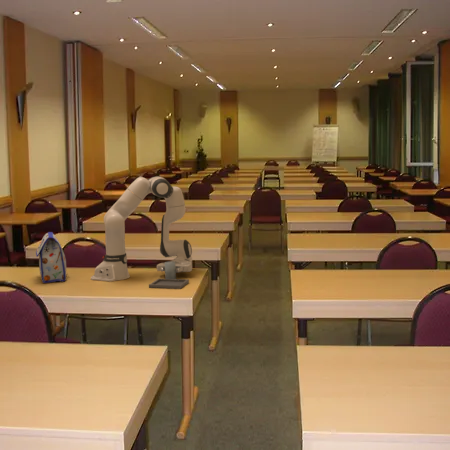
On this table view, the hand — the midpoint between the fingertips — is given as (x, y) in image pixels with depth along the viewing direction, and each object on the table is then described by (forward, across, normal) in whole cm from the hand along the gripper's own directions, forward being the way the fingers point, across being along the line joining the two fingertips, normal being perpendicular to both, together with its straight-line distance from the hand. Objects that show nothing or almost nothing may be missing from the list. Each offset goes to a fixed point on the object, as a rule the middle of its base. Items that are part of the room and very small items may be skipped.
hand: (169, 270), depth 363 cm
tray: (+12, +4, +6) cm, 14 cm away
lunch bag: (+6, -71, +6) cm, 71 cm away
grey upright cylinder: (-1, 0, +6) cm, 6 cm away
